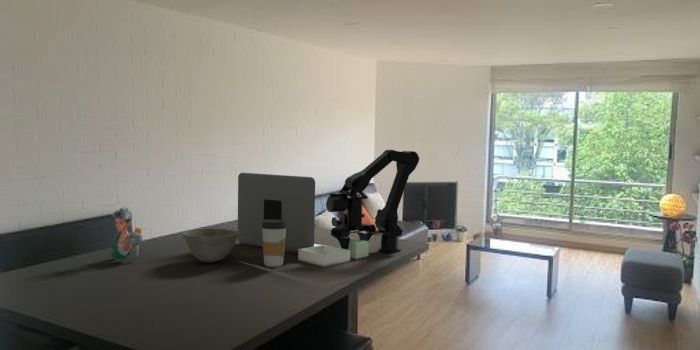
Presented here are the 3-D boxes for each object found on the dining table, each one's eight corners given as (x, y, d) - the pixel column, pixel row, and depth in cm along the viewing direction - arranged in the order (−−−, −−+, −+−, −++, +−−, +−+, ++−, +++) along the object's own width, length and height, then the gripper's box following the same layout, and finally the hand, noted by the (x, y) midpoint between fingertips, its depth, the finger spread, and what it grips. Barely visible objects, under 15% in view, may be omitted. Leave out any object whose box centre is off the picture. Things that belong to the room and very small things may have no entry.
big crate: (323, 255, 199) (323, 244, 198) (350, 261, 189) (350, 250, 189) (298, 260, 189) (298, 249, 189) (325, 266, 180) (325, 255, 180)
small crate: (350, 253, 203) (350, 237, 203) (368, 257, 197) (368, 241, 197) (338, 256, 198) (338, 239, 198) (356, 259, 192) (356, 243, 192)
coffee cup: (281, 268, 177) (282, 222, 176) (257, 266, 178) (257, 221, 178) (289, 263, 185) (289, 219, 184) (266, 261, 187) (266, 218, 186)
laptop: (355, 246, 219) (357, 174, 217) (311, 258, 194) (313, 177, 192) (283, 236, 239) (284, 170, 238) (235, 245, 215) (236, 172, 213)
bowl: (249, 261, 186) (250, 232, 186) (201, 269, 173) (202, 238, 172) (219, 253, 199) (219, 226, 198) (172, 260, 185) (172, 231, 185)
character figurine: (99, 259, 183) (99, 207, 182) (116, 255, 191) (116, 204, 190) (128, 262, 180) (128, 209, 179) (144, 258, 188) (144, 206, 187)
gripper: (355, 207, 209) (354, 247, 210) (320, 210, 195) (319, 253, 196) (377, 210, 202) (376, 251, 202) (342, 214, 188) (341, 258, 189)
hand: (353, 253), depth 198 cm, fingers open, 9 cm apart
